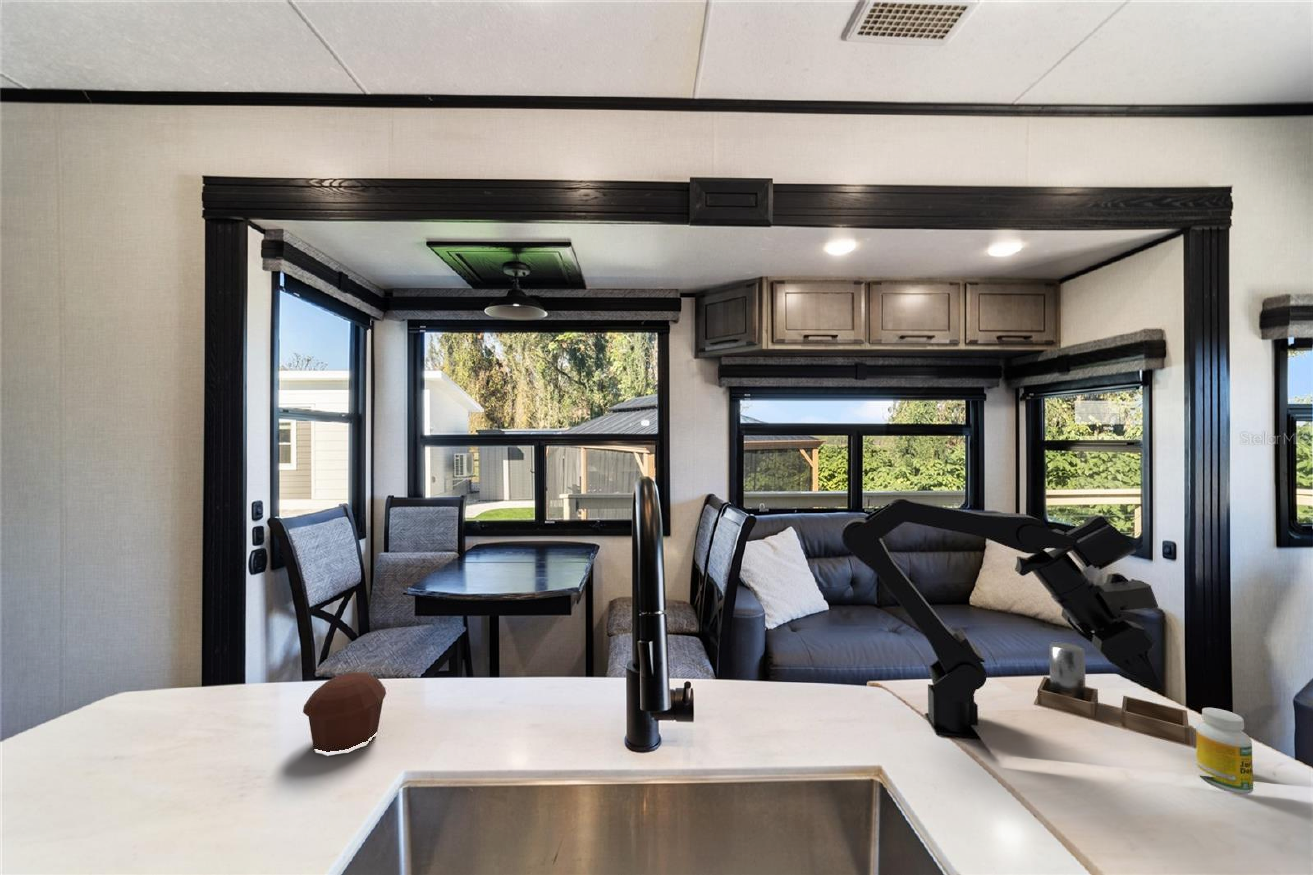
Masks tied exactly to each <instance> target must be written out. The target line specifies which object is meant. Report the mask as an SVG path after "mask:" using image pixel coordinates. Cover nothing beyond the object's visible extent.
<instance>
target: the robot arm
mask: <svg viewBox="0 0 1313 875" xmlns="http://www.w3.org/2000/svg"><path fill="white" fill-rule="evenodd" d="M904 523H911V524H915V525H916V524H917V525H921V526H926V527H932V528H937V529H941V530H946V531H952V532H957V533H962V534H967V535H972V536H977V537H981V538H984V539H985V540H986V539H987V540H989V541H992V542H994V543H997V544H999V545H1002V546H1005V547H1007V548H1010V549H1013V550H1016V551H1018V552H1021V553H1025V554H1031V555H1029V556H1028V557H1022V556H1019V555H1018V556H1016V564H1015V568H1014V571H1015V572H1016V573H1017V574H1018V575H1020V576H1022V577H1024V576H1027V575H1029V574H1030V573H1031V572H1032V574H1034V575H1035V577H1036V578H1037V579H1038V581H1039V582H1040V583H1041V584H1042V585H1043V587H1044V588H1045V590H1047V591H1048V593H1049V594H1050V595H1051V598H1052V599H1053V601H1054V602H1055V603H1056V604H1058V606H1060V608H1061V610H1062V611H1061V617H1062V619H1063V620H1064V621H1065V622H1066V623H1067V624H1068V626H1070V628H1071V629H1073V630H1074V631H1075V632H1076V633H1077V634H1078V635H1079V636H1081V637H1082V638H1084V639H1086V641H1089V642H1090V643H1091V644H1092V645H1093V647H1095V649H1096V650H1097V651H1098V652H1099V653H1100V654H1101V655H1102V656H1103V657H1104V658H1105V659H1106V660H1107V661H1108V662H1109V663H1111V664H1112V665H1114V666H1116V667H1117V668H1119V669H1120V670H1122V671H1124V672H1125V673H1127V674H1128V675H1130V676H1132V677H1133V678H1135V680H1138V681H1139V682H1141V683H1143V684H1144V685H1145V686H1147V687H1149V688H1150V689H1152V690H1153V691H1156V692H1157V691H1160V690H1162V689H1163V688H1164V687H1163V684H1162V682H1161V680H1160V678H1159V676H1158V674H1157V672H1156V670H1155V667H1154V666H1153V664H1152V661H1151V659H1150V657H1149V653H1150V650H1152V649H1153V648H1154V645H1155V643H1156V640H1155V639H1154V638H1153V636H1151V634H1150V633H1149V632H1148V631H1147V630H1146V629H1145V628H1144V627H1142V626H1141V625H1140V624H1137V623H1136V622H1135V621H1130V620H1125V619H1122V620H1120V619H1121V618H1123V617H1125V616H1126V613H1125V612H1124V611H1132V610H1133V611H1134V610H1142V609H1149V610H1152V609H1157V608H1159V604H1158V601H1157V598H1156V596H1155V594H1154V591H1153V587H1152V585H1151V584H1149V583H1147V582H1144V580H1143V581H1142V580H1140V579H1134V578H1132V579H1130V580H1129V579H1128V578H1126V577H1125V575H1124V574H1122V573H1119V572H1115V573H1109V574H1107V577H1106V580H1105V582H1103V583H1102V584H1098V583H1097V584H1095V583H1094V582H1093V580H1091V579H1090V578H1089V577H1088V576H1087V575H1086V574H1085V573H1084V571H1083V570H1082V569H1081V568H1080V567H1079V565H1078V564H1077V563H1076V562H1075V561H1077V562H1078V563H1079V564H1080V565H1081V566H1082V567H1084V568H1085V569H1088V568H1090V567H1092V568H1094V569H1095V570H1097V571H1101V570H1103V569H1104V568H1106V567H1109V566H1111V565H1113V564H1115V563H1117V562H1118V561H1120V560H1122V559H1124V558H1126V557H1128V556H1130V555H1132V554H1134V553H1135V552H1137V549H1136V547H1135V545H1134V544H1133V543H1132V541H1131V540H1130V539H1129V538H1128V537H1127V536H1126V534H1125V533H1122V532H1120V531H1119V530H1118V529H1117V528H1116V527H1115V526H1114V525H1113V524H1111V523H1110V522H1108V521H1107V519H1106V518H1105V517H1104V516H1102V515H1099V514H1095V515H1093V516H1091V517H1090V518H1088V519H1087V520H1086V521H1085V522H1083V523H1081V524H1080V525H1078V526H1076V527H1075V528H1072V529H1070V530H1069V531H1067V532H1065V531H1063V530H1060V529H1058V528H1054V529H1052V528H1049V527H1048V526H1047V525H1046V523H1045V522H1044V521H1042V520H1041V519H1038V518H1036V517H1033V516H1030V515H1029V514H1025V513H1011V512H1006V513H1005V512H994V513H993V512H991V513H989V512H988V513H987V512H985V513H984V512H975V511H969V510H964V509H958V508H953V507H948V506H943V505H936V504H932V503H926V502H920V501H914V500H910V499H907V498H904V497H896V498H893V499H892V500H891V501H890V502H889V503H887V504H886V505H884V506H882V507H881V508H879V509H876V510H874V511H873V512H871V513H870V514H868V515H867V516H865V517H863V518H862V517H855V518H852V519H850V520H849V521H848V522H847V523H846V524H845V526H844V527H843V529H842V535H841V539H842V544H843V545H844V547H845V548H846V549H847V550H848V551H849V552H850V553H851V554H852V555H853V556H855V558H857V559H858V560H859V561H860V562H861V563H862V564H864V565H865V566H866V567H868V568H869V569H870V570H871V571H873V573H875V574H876V576H877V577H878V579H879V580H880V581H881V583H883V585H884V586H885V587H886V588H887V590H888V592H889V593H890V594H891V595H892V596H893V598H894V599H895V600H896V602H897V603H898V604H899V605H900V606H901V608H902V609H903V610H904V612H905V613H906V614H907V616H908V617H909V618H910V619H911V620H912V622H913V623H914V624H915V626H916V627H917V628H918V629H919V631H920V632H921V633H922V634H923V636H924V637H925V638H926V640H928V643H929V644H930V647H931V648H932V650H933V652H934V654H935V655H936V657H937V659H936V660H935V661H934V662H933V663H931V664H930V665H929V666H928V670H929V674H930V678H931V682H932V684H930V683H929V684H927V711H928V712H926V713H924V716H925V719H926V720H927V722H928V723H929V725H930V727H931V728H932V729H933V732H934V733H935V734H936V735H939V736H950V737H958V738H968V739H980V735H979V734H978V733H977V731H976V730H975V729H974V726H978V725H979V711H978V710H979V708H978V707H979V706H978V703H976V702H975V693H976V691H977V690H980V689H981V688H982V687H984V685H985V683H986V682H987V677H988V673H987V670H986V668H985V665H984V664H983V663H985V662H986V660H985V659H984V656H983V655H982V653H981V651H980V649H979V646H977V645H975V644H973V643H972V642H971V641H970V640H969V638H968V637H967V635H966V633H965V632H964V629H963V628H962V627H961V628H959V629H958V630H956V632H955V631H954V630H952V629H951V628H949V626H947V625H946V624H945V623H944V621H943V620H942V619H941V618H940V616H939V615H938V614H937V612H936V611H935V610H934V609H933V608H932V607H931V606H930V604H929V603H928V602H927V601H926V599H925V598H924V597H923V595H922V594H921V593H920V592H919V591H918V589H917V588H916V587H915V586H914V584H913V583H912V582H911V580H910V579H909V578H908V576H907V575H906V574H905V573H904V571H902V569H901V568H900V567H899V565H898V564H897V563H896V562H895V560H894V559H893V558H892V555H891V554H890V552H889V551H888V550H889V549H887V547H886V545H885V542H884V540H883V539H882V538H883V537H885V536H886V535H888V534H889V533H890V532H892V531H893V530H895V529H896V528H898V527H899V526H901V525H902V524H904ZM1046 549H1052V550H1049V551H1046ZM1068 553H1070V554H1071V555H1072V556H1073V558H1074V559H1075V561H1074V559H1072V557H1071V556H1070V555H1069V554H1068ZM1117 620H1120V621H1117Z"/></svg>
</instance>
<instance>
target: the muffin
mask: <svg viewBox="0 0 1313 875" xmlns="http://www.w3.org/2000/svg"><path fill="white" fill-rule="evenodd" d="M386 690H387V689H386V687H385V686H384V685H383V683H382V681H381V680H379V678H377V677H375V676H373V675H371V674H369V673H365V672H361V671H360V672H357V671H355V672H347V673H343V674H339V675H337V676H335V677H332V678H330V679H329V680H327V681H325V682H324V683H323V684H321V686H318V688H317V689H316V690H314V691H313V692H312V694H311V695H310V696H309V698H307V700H306V702H305V704H304V705H303V710H302V713H303V714H304V715H306V716H307V717H308V724H309V728H310V735H311V741H312V742H311V743H312V748H313V750H314V749H318V750H322V751H326V752H330V751H339V750H345V749H349V748H351V747H353V746H356V745H358V744H360V743H362V742H366V741H368V739H369V738H370V737H372V736H373V735H374V734H375V733H376V732H377V733H378V730H379V729H378V728H379V726H380V725H379V724H380V719H381V713H382V709H383V708H382V707H383V704H384V699H385V698H386V695H387V692H386Z"/></svg>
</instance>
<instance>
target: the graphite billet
mask: <svg viewBox="0 0 1313 875" xmlns="http://www.w3.org/2000/svg"><path fill="white" fill-rule="evenodd" d="M1048 646H1049V648H1048V649H1049V650H1048V651H1049V653H1048V654H1049V678H1050V692H1052V693H1056V694H1060V695H1064V696H1068V697H1072V698H1076V699H1080V700H1083V701H1086V687H1087V685H1086V658H1085V657H1086V656H1085V654H1086V652H1085V649H1084V648H1083V647H1081V646H1078V645H1076V644H1072V643H1067V642H1060V641H1059V642H1058V641H1057V642H1055V641H1054V642H1050V643H1049V644H1048Z"/></svg>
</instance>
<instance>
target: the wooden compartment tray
mask: <svg viewBox="0 0 1313 875" xmlns="http://www.w3.org/2000/svg"><path fill="white" fill-rule="evenodd" d="M1036 690H1037V695H1036V698H1035V700H1034V702H1033V703H1032V705H1035V706H1038V707H1042V708H1046V709H1048V710H1053V711H1057V712H1060V713H1064V714H1068V715H1070V716H1074V717H1078V718H1081V719H1085V720H1090V721H1093V722H1097V723H1100V724H1103V725H1104V724H1105V725H1108V726H1112V727H1115V728H1119V729H1122V730H1127V731H1129V732H1134V733H1137V734H1141V735H1145V736H1148V737H1151V738H1155V739H1159V740H1163V741H1167V742H1171V743H1175V744H1178V745H1182V746H1185V747H1189V748H1192V749H1196V744H1195V736H1194V730H1193V725H1190V724H1189V717H1188V715H1189V714H1188V710H1187V709H1186V710H1185V709H1183V708H1178V707H1173V706H1169V705H1164V704H1161V703H1157V702H1153V701H1148V700H1144V699H1140V698H1135V697H1131V696H1127V695H1123V696H1122V704H1121V707H1119V706H1114V705H1111V704H1107V703H1102V702H1099V691H1098V689H1097V688H1094V687H1090V686H1086V701H1083V700H1080V699H1076V698H1072V697H1068V696H1064V695H1060V694H1056V693H1052V692H1050V677H1047V676H1043V678H1042V679H1041V682H1040V684H1039V686H1038V688H1037V689H1036Z"/></svg>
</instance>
